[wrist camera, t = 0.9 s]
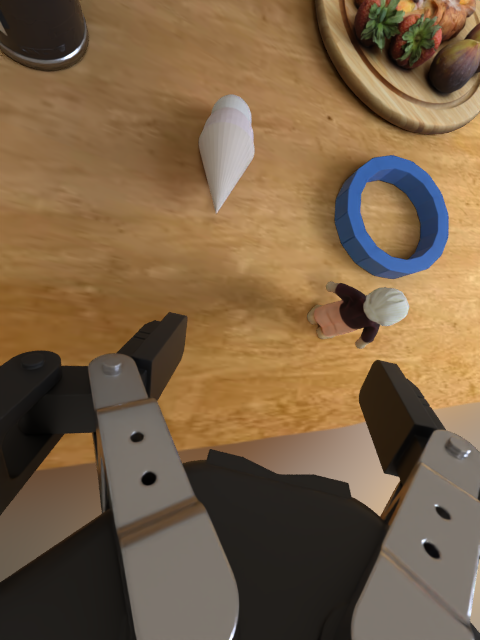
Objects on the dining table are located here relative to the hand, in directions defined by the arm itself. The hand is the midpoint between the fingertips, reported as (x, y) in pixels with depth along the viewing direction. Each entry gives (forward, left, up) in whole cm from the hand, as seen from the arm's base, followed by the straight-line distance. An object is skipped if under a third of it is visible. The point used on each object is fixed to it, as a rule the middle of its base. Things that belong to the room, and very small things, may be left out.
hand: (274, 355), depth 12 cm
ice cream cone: (-20, +8, -20) cm, 29 cm away
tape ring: (-10, +29, -20) cm, 36 cm away
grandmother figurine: (0, +15, -20) cm, 25 cm away
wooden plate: (-37, +43, -20) cm, 60 cm away
